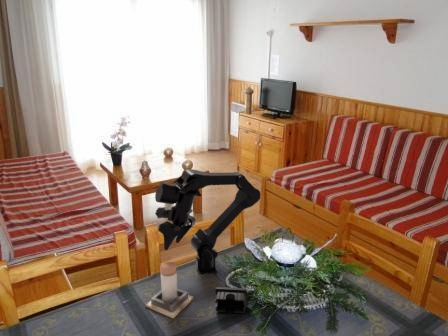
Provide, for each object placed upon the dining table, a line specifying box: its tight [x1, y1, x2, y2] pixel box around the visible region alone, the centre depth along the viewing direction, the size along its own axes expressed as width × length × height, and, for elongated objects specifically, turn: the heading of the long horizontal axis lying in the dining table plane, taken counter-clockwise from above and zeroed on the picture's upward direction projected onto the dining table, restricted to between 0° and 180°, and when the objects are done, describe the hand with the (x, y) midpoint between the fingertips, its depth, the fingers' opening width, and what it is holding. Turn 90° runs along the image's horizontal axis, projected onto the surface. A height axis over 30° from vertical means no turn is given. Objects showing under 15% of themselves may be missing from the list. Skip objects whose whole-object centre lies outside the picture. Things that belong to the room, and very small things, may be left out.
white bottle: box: [159, 261, 178, 305], centre depth 122 cm, size 5×5×13 cm
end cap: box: [214, 286, 248, 317], centre depth 121 cm, size 10×7×7 cm
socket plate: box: [145, 287, 194, 319], centre depth 124 cm, size 11×11×3 cm
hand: (171, 246), depth 133 cm, fingers open, 9 cm apart
